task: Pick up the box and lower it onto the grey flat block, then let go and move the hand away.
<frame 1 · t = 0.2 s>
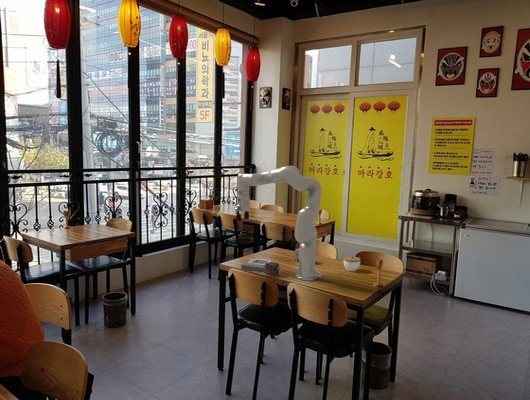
hand: (242, 219, 257), 31 cm above the table, tool pointing down, fingers open, 9 cm apart
food item: (304, 262, 279), on the table
box: (271, 275, 244), on the table
lidded jar: (351, 270, 260), on the table
grey flat block: (259, 268, 258), on the table
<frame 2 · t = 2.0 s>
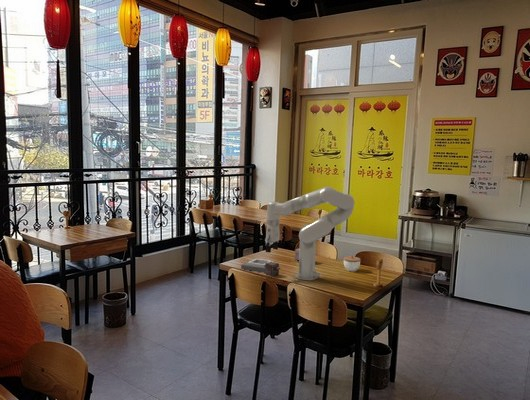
hand: (271, 250, 243), 15 cm above the table, tool pointing down, fingers open, 9 cm apart
nothing on the table moved.
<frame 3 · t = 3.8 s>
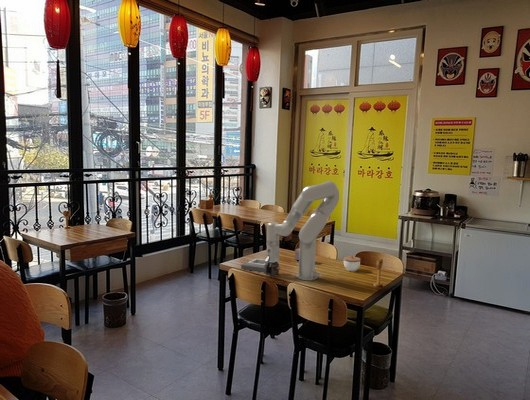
hand: (271, 271, 244), 2 cm above the table, tool pointing down, fingers closed on box, 8 cm apart
box: (271, 275, 244), on the table, touching gripper
everything else where it was.
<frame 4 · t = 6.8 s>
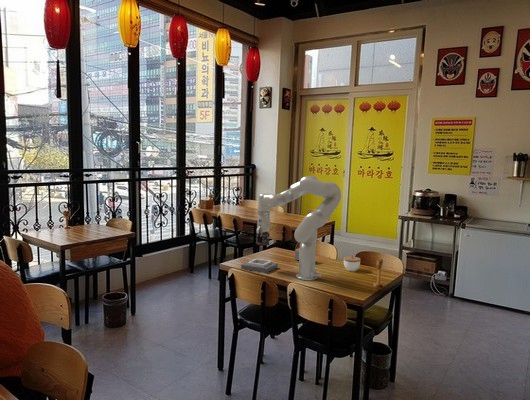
hand: (262, 241, 253), 19 cm above the table, tool pointing down, fingers closed on box, 8 cm apart
box: (262, 244, 253), point 16 cm above the table, touching gripper
everything else where it was.
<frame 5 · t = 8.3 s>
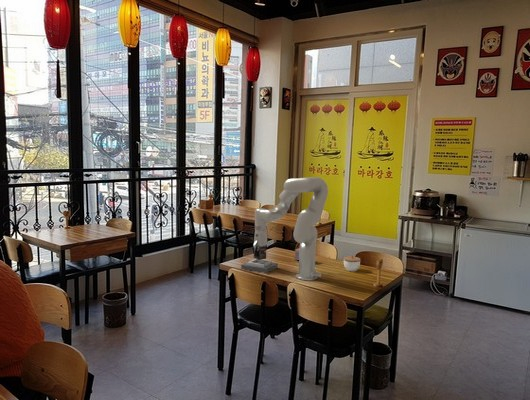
hand: (259, 255, 257), 9 cm above the table, tool pointing down, fingers closed on box, 8 cm apart
box: (259, 258, 257), point 6 cm above the table, touching gripper
everything else where it was.
when the fingers open (6 cm above the table, at t = 9.8 s): box stays where it is, resting on grey flat block.
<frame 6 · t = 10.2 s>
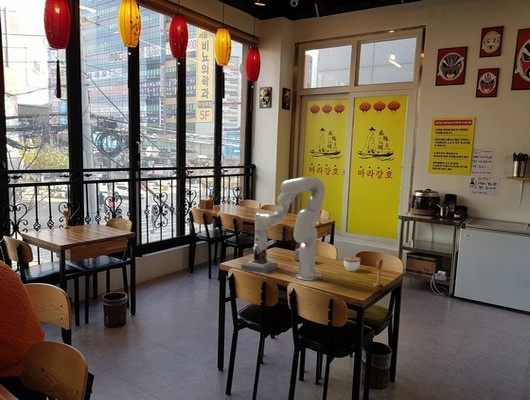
hand: (259, 258, 257), 6 cm above the table, tool pointing down, fingers open, 9 cm apart
box: (260, 264, 258), point 3 cm above the table, touching grey flat block
everything else where it was.
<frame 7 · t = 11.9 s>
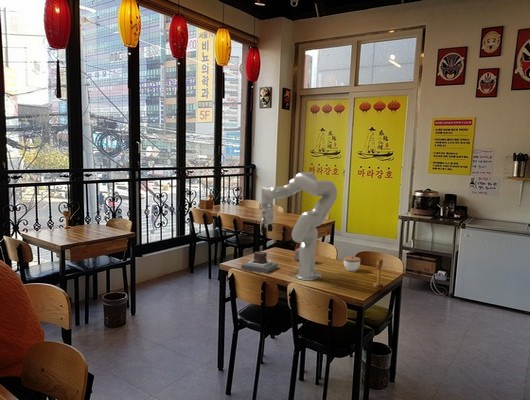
hand: (266, 232, 259), 23 cm above the table, tool pointing down, fingers open, 9 cm apart
nothing on the table moved.
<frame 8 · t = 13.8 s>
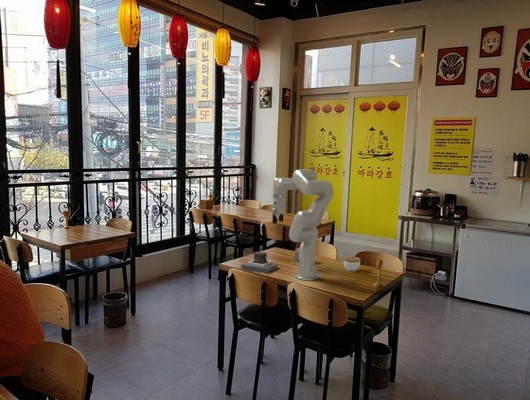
hand: (277, 222, 266), 28 cm above the table, tool pointing down, fingers open, 9 cm apart
nothing on the table moved.
at the end: box 0.2 cm off-centre on the grey flat block, point 2.8 cm above the grey flat block's base; box tilted 0°; the gripper is holding nothing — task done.
